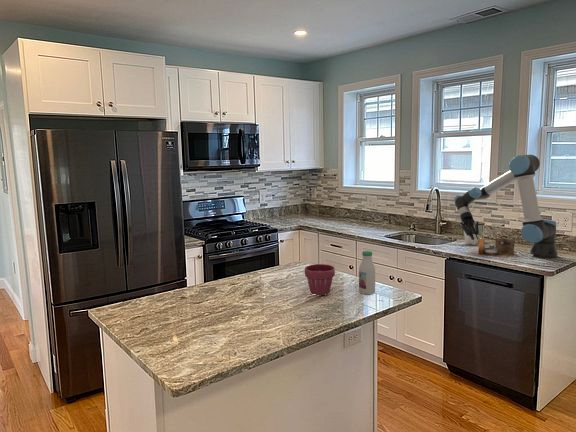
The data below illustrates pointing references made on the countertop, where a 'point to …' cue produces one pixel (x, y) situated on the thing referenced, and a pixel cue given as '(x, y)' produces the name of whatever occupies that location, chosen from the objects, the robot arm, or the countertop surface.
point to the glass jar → (480, 230)
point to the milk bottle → (367, 274)
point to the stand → (500, 248)
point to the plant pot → (319, 278)
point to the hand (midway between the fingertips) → (476, 243)
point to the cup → (468, 239)
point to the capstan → (487, 248)
